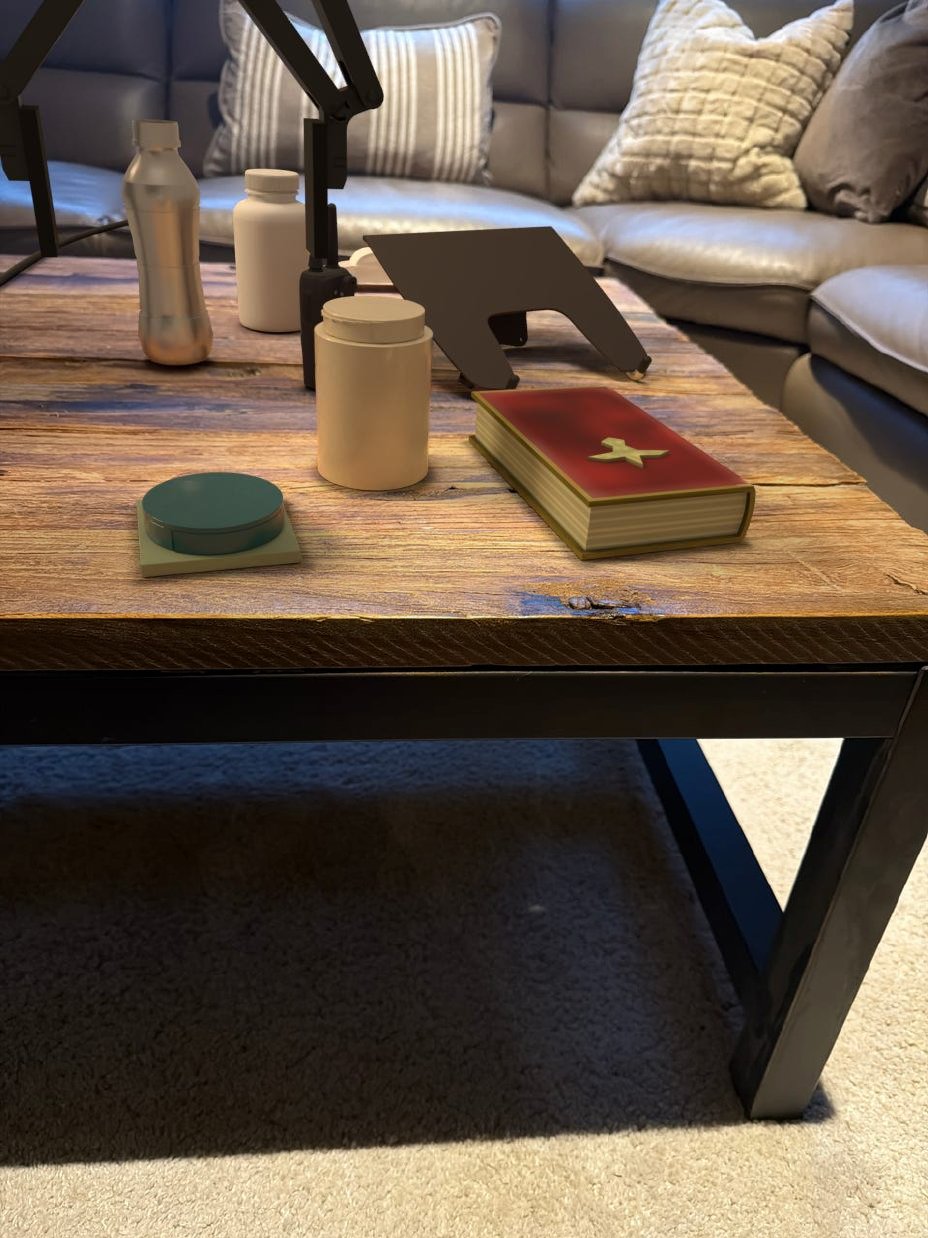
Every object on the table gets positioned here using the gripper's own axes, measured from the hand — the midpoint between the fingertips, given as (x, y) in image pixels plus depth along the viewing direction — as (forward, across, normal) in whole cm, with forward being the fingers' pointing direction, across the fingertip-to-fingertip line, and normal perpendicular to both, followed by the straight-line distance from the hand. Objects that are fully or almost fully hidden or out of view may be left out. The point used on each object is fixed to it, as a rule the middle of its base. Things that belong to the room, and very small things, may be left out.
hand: (189, 253), depth 50 cm
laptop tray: (+17, -32, -32) cm, 49 cm away
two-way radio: (+17, -13, -28) cm, 35 cm away
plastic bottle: (+17, 0, -36) cm, 40 cm away
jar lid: (+14, 0, 0) cm, 14 cm away
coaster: (+16, 0, 0) cm, 17 cm away
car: (+17, -25, -67) cm, 73 cm away
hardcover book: (+17, -27, -2) cm, 32 cm away
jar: (+17, -12, -8) cm, 22 cm away
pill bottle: (+17, -11, -50) cm, 54 cm away
